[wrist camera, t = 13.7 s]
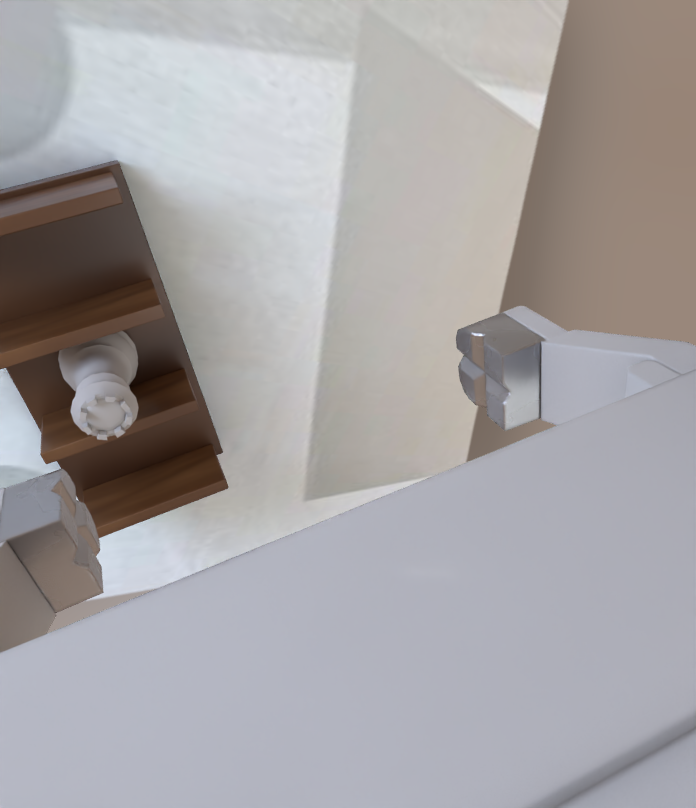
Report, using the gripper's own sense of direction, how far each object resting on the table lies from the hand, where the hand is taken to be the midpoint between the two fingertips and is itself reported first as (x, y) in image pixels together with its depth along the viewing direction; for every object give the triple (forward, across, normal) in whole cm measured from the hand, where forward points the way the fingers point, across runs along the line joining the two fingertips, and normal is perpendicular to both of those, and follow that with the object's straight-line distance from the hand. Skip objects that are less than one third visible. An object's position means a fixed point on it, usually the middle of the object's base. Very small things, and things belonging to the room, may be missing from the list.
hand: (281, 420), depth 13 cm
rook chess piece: (+27, +6, +9) cm, 30 cm away
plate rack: (+28, +6, +9) cm, 30 cm away
